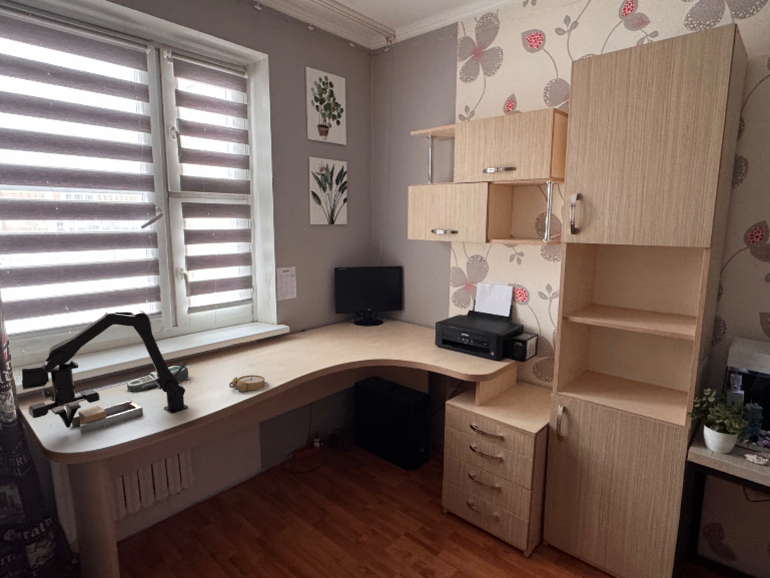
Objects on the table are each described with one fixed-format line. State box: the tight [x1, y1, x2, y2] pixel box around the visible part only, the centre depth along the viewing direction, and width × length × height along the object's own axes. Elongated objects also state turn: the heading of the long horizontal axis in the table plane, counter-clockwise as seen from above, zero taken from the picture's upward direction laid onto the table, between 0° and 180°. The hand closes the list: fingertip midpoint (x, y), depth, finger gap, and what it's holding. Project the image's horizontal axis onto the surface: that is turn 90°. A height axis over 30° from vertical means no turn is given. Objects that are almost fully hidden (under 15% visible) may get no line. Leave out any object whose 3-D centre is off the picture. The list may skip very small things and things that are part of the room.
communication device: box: [126, 361, 189, 393], centre depth 197 cm, size 12×24×9 cm, turn 136°
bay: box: [71, 399, 144, 435], centre depth 162 cm, size 10×20×3 cm, turn 140°
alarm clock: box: [228, 374, 268, 393], centre depth 193 cm, size 11×5×15 cm
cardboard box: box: [77, 405, 107, 426], centre depth 158 cm, size 7×6×5 cm
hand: (68, 427), depth 152 cm, fingers closed
